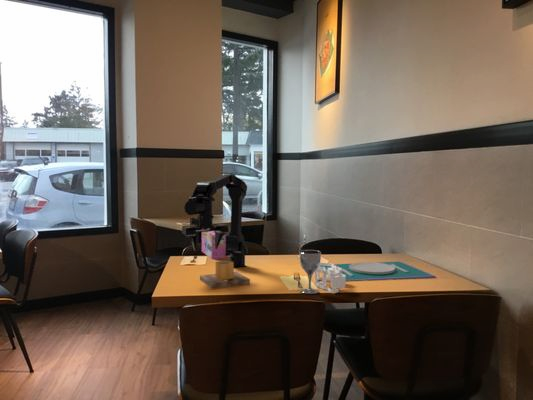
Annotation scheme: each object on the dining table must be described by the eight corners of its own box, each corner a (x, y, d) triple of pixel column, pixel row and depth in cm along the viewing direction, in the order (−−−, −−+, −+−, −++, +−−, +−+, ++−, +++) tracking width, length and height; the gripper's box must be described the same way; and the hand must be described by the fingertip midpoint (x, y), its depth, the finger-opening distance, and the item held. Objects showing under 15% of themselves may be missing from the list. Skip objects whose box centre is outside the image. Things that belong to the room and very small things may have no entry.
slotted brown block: (236, 276, 191) (236, 256, 190) (249, 284, 178) (249, 262, 178) (199, 280, 184) (199, 259, 183) (211, 288, 171) (211, 266, 171)
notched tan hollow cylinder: (229, 274, 186) (229, 260, 185) (236, 278, 179) (236, 263, 179) (213, 276, 182) (213, 261, 182) (219, 280, 176) (219, 265, 176)
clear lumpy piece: (347, 293, 166) (347, 274, 166) (317, 293, 167) (317, 273, 166) (339, 279, 186) (340, 262, 186) (313, 279, 187) (313, 262, 186)
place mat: (400, 262, 224) (400, 258, 224) (435, 277, 194) (435, 272, 194) (313, 266, 214) (313, 261, 214) (337, 282, 185) (337, 277, 184)
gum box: (200, 252, 244) (200, 229, 243) (213, 251, 247) (213, 228, 246) (211, 260, 224) (211, 234, 223) (226, 259, 227) (226, 234, 226)
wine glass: (305, 287, 174) (306, 248, 173) (324, 290, 170) (324, 251, 169) (295, 291, 168) (295, 252, 167) (313, 295, 163) (314, 254, 162)
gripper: (218, 209, 197) (218, 245, 198) (177, 212, 188) (177, 248, 189) (229, 212, 187) (229, 249, 188) (186, 214, 178) (186, 253, 179)
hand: (205, 250), depth 187 cm, fingers open, 9 cm apart
